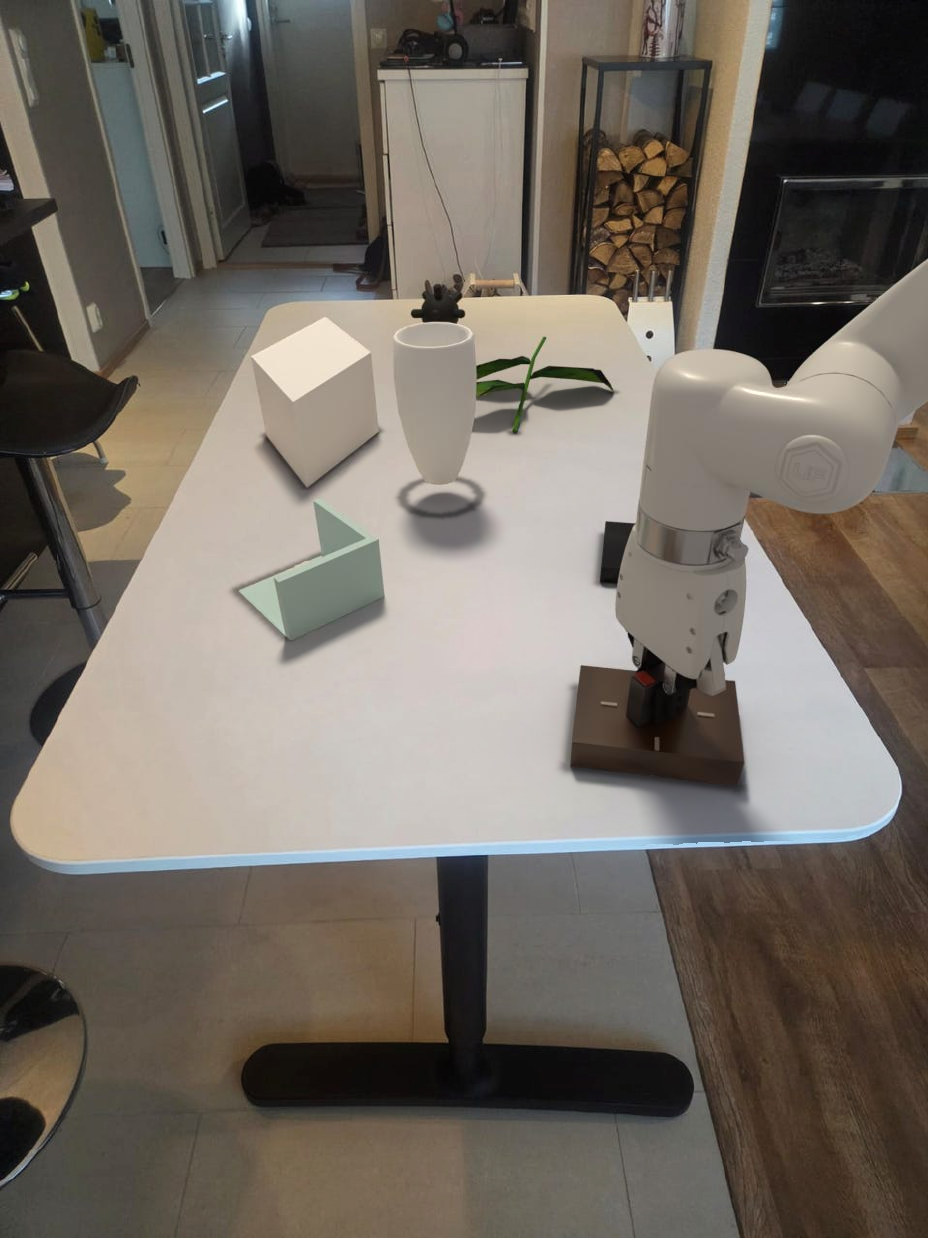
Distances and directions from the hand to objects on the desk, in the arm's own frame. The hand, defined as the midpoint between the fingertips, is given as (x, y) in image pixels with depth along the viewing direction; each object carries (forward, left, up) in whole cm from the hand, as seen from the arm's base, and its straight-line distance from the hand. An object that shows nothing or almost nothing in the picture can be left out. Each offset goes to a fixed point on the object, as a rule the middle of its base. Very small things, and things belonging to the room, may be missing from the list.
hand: (657, 707), depth 70 cm
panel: (0, 0, -3) cm, 3 cm away
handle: (0, 0, 0) cm, 0 cm away
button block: (0, -28, -3) cm, 28 cm away
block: (+51, -57, -4) cm, 76 cm away
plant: (+19, -72, -4) cm, 75 cm away
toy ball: (+42, -103, -4) cm, 111 cm away
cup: (+28, -40, -4) cm, 49 cm away
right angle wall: (+38, -16, -4) cm, 41 cm away
